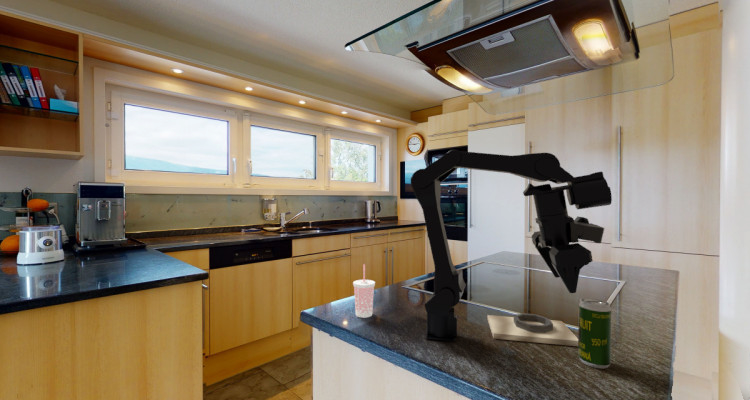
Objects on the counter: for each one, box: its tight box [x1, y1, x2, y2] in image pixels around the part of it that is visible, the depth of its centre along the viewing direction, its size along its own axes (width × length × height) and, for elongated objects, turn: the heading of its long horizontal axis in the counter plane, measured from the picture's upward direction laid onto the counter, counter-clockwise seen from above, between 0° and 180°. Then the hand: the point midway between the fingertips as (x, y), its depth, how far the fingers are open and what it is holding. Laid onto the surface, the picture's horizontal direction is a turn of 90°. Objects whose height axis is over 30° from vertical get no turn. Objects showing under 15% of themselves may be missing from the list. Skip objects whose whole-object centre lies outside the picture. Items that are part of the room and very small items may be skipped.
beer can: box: [577, 297, 612, 369], centre depth 65 cm, size 5×5×12 cm
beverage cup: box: [352, 263, 376, 319], centre depth 90 cm, size 6×6×14 cm
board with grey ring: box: [487, 312, 578, 347], centre depth 79 cm, size 18×12×3 cm, turn 77°
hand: (564, 284), depth 69 cm, fingers open, 9 cm apart
